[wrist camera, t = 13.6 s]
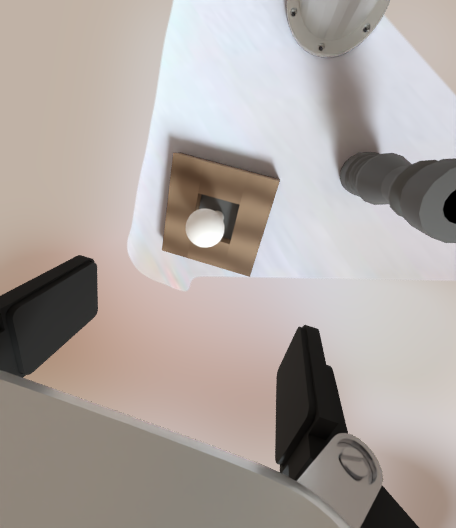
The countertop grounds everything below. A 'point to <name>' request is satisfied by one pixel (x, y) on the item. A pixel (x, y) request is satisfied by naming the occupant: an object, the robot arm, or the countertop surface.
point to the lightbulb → (205, 227)
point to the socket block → (218, 199)
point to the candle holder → (407, 189)
